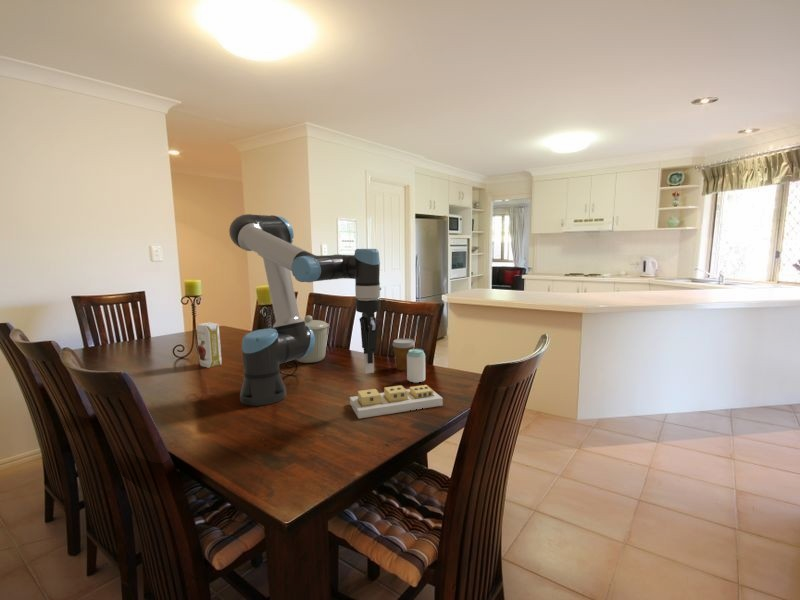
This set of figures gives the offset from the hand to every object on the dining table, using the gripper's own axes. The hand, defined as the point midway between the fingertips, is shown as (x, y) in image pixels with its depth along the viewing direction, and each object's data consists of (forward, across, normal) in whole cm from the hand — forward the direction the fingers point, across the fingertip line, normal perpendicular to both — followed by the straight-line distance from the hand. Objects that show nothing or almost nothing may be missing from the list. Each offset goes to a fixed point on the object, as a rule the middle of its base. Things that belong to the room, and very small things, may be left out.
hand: (369, 372), depth 128 cm
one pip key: (+10, -1, 0) cm, 10 cm away
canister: (+13, +65, +10) cm, 67 cm away
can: (+12, +19, -24) cm, 33 cm away
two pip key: (+10, -1, -9) cm, 13 cm away
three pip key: (+11, -1, -18) cm, 21 cm away
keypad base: (+12, -1, -9) cm, 15 cm away
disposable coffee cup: (+12, +36, -25) cm, 46 cm away
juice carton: (+13, +74, +53) cm, 92 cm away
